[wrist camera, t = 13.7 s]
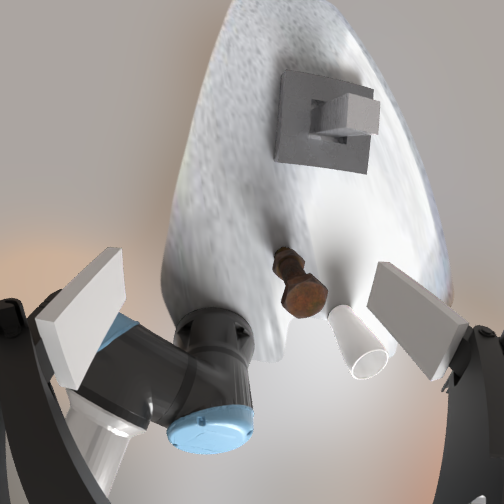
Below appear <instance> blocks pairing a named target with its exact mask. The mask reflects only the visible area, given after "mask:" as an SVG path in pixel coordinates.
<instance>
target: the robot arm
mask: <svg viewBox="0 0 504 504" xmlns="http://www.w3.org/2000/svg"><path fill="white" fill-rule="evenodd" d="M125 300H126V292H125V283H124V271H123V257H122V248H113V247H108V248H106V249H105V250H104V251H103V252H102V253H101V254H100V255H99V256H98V257H97V258H95V259H94V260H93V261H92V262H91V263H90V264H89V265H88V266H87V267H86V268H84V270H82V271H81V272H80V273H79V274H78V275H77V276H76V277H75V278H74V279H73V280H72V281H71V282H70V283H69V284H68V285H67V286H66V287H65V288H64V289H60V290H58V291H56V292H54V293H52V294H50V295H49V296H48V297H47V298H46V299H45V300H44V302H42V303H41V304H40V305H39V307H37V308H36V309H35V310H34V311H33V312H32V313H31V314H30V315H29V317H28V318H27V319H26V316H25V312H24V309H23V305H22V303H21V301H20V300H18V299H15V298H8V299H3V300H0V504H11V503H10V498H9V490H8V481H7V470H6V452H5V451H6V449H5V430H6V433H7V438H8V442H9V446H10V449H11V453H12V457H13V460H14V463H15V467H16V470H17V472H18V476H19V478H20V481H21V484H22V487H23V490H24V492H25V494H26V497H27V499H28V502H29V504H111V503H110V502H109V500H108V496H109V493H110V490H111V488H112V485H113V482H114V479H115V477H116V474H117V471H118V469H119V466H120V464H121V461H122V458H123V456H124V453H125V451H126V448H127V445H128V443H129V440H130V438H132V437H133V436H136V435H139V434H142V433H145V432H146V430H147V428H148V425H149V422H150V421H152V422H154V423H157V424H159V425H161V426H163V427H166V428H167V436H168V440H169V441H170V443H172V444H173V446H175V447H176V448H178V449H180V450H183V451H186V452H190V453H196V454H217V453H223V452H227V451H231V450H233V449H236V448H238V447H240V446H242V445H243V444H244V443H246V442H247V441H248V440H249V439H250V437H251V436H252V433H253V417H254V411H253V406H252V399H251V392H250V384H249V377H248V366H249V364H250V361H251V358H252V356H253V352H254V337H253V332H252V330H251V328H250V326H249V324H248V323H247V322H246V321H245V320H244V319H243V318H242V317H241V316H239V315H237V314H236V313H234V312H231V311H229V310H225V309H221V308H204V309H199V310H196V311H193V312H191V313H190V314H188V315H186V316H185V317H184V318H183V319H182V320H181V321H180V322H179V324H178V326H177V328H176V331H175V335H174V343H173V344H172V343H170V342H168V341H167V340H165V339H163V338H161V337H160V336H158V335H156V334H155V333H153V332H151V331H150V330H148V329H147V328H145V327H144V326H142V325H141V324H140V323H139V322H138V321H134V320H132V319H130V318H128V317H127V316H125V315H123V314H121V313H120V312H119V311H120V309H121V307H122V305H123V304H124V302H125ZM367 308H368V309H369V310H370V311H371V312H372V313H373V314H374V315H375V317H376V318H377V319H378V320H379V321H380V322H381V323H382V324H383V326H384V327H385V328H386V329H387V330H388V331H389V332H390V334H391V335H392V336H393V337H394V338H395V339H396V341H397V342H398V343H399V344H400V345H401V346H402V347H403V349H404V350H405V351H406V352H407V353H408V355H409V356H410V357H411V358H412V359H413V361H414V362H415V363H416V364H417V365H418V367H419V368H420V369H421V370H422V371H423V373H424V374H425V375H426V376H427V377H428V379H429V380H430V381H434V380H436V379H440V378H442V377H443V375H444V374H445V372H446V370H447V368H448V366H449V367H450V368H451V369H452V372H451V374H450V376H449V378H448V379H447V381H446V383H445V384H444V386H443V388H442V391H441V392H443V391H444V389H445V388H448V390H447V392H446V393H448V394H449V396H448V415H447V427H446V438H445V446H444V452H443V459H442V465H441V470H440V476H439V481H438V485H437V489H436V494H435V498H434V502H433V504H504V331H503V333H502V335H501V337H497V336H496V334H495V332H494V331H492V330H491V329H489V328H488V327H485V326H480V325H477V326H475V327H474V328H472V327H470V326H469V322H468V321H467V320H465V319H464V318H463V317H462V316H460V315H459V314H458V313H457V312H455V311H454V310H453V309H452V308H450V307H449V306H448V305H447V304H445V303H444V302H443V301H441V300H440V299H439V298H438V297H436V296H435V295H434V294H432V293H431V292H430V291H428V290H427V289H426V288H424V287H423V286H422V285H420V284H419V283H418V282H416V281H415V280H414V279H412V278H411V277H409V276H408V275H407V274H405V273H404V272H402V271H401V270H400V269H398V268H397V267H395V266H394V265H393V264H391V263H390V262H378V265H377V269H376V273H375V277H374V281H373V285H372V289H371V292H370V296H369V300H368V303H367ZM54 374H55V377H56V379H57V381H58V384H59V386H62V387H66V392H67V395H68V398H69V401H70V409H69V411H68V413H67V416H66V418H64V416H63V414H62V411H61V409H60V406H59V404H58V401H57V398H56V396H55V393H54V390H53V387H52V385H51V383H50V380H51V378H52V376H53V375H54Z"/></svg>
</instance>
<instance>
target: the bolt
mask: <svg viewBox="0 0 504 504" xmlns="http://www.w3.org/2000/svg"><path fill="white" fill-rule="evenodd" d="M304 265H305V261H304V260H303V258H302V257H301V256H300V255H298V254H297V253H296V252H295V251H294V250H293V249H290V248H286V247H281V248H280V249H279V250H277V252H276V253H275V256H274V263H273V268H272V269H273V272H274V273H275V274H276V275H277V276H278V277H279V278H280V279H282V280H283V281H284V283H285V285H286V286H285V290H284V293H283V296H282V299H281V304H282V306H283V307H284V308H285V309H286V310H287V311H288V312H289V313H290V314H292V315H293V316H295V317H296V318H307V317H310V316H313V315H315V314H317V313H318V312H320V311H321V310H322V308H323V306H324V304H325V302H326V299H327V294H328V290H327V288H326V287H325V286H324V285H323V284H322V283H321V282H320V281H319V280H318V279H316V278H315V277H314V276H313V275H312V274H311V273H309V274H306V273H305V271H304V270H303V269H304Z"/></svg>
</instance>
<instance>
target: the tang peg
mask: <svg viewBox="0 0 504 504" xmlns="http://www.w3.org/2000/svg"><path fill="white" fill-rule="evenodd" d="M379 115H380V101H376V100H373V99H369V98H366V97H362V96H358V95H355V94H351V93H348V94H345V95H343V96H340V97H338V98H336V99H333V100H331V101H329V102H326V103H324V104H322V105H320V106H317V107H315V108H313V109H312V112H311V124H310V134H316V135H322V136H328V137H346V136H361V135H378V129H379Z"/></svg>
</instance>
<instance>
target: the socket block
mask: <svg viewBox="0 0 504 504" xmlns="http://www.w3.org/2000/svg"><path fill="white" fill-rule="evenodd" d="M373 92H374V89H371V88H367V87H364V86H360V85H357V84H353V83H349V82H345V81H341V80H337V79H333V78H328V77H324V76H319V75H314V74H309V73H303V72H297V71H291V70H285V72H284V73H283V74H282V76H281V87H280V100H279V112H278V123H277V135H276V146H275V157H274V161H275V162H280V163H290V164H299V165H307V166H315V167H322V168H329V169H336V170H343V171H349V172H355V173H361V174H366V175H367V168H368V159H369V150H370V139H371V135H361V136H346V137H328V136H322V135H316V134H310V124H311V112H312V109H313V108H315V107H317V106H320V105H322V104H324V103H326V102H329V101H331V100H333V99H336V98H338V97H340V96H343V95H345V94H348V93H351V94H355V95H358V96H362V97H366V98H369V99H373Z"/></svg>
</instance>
